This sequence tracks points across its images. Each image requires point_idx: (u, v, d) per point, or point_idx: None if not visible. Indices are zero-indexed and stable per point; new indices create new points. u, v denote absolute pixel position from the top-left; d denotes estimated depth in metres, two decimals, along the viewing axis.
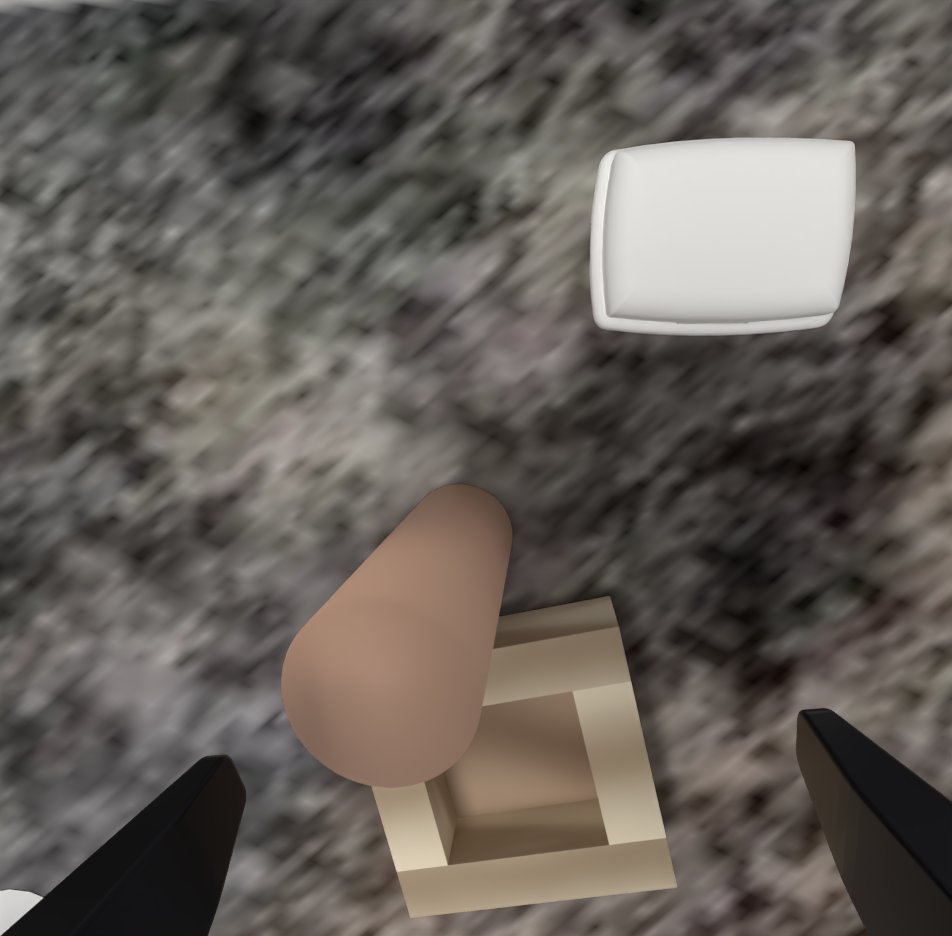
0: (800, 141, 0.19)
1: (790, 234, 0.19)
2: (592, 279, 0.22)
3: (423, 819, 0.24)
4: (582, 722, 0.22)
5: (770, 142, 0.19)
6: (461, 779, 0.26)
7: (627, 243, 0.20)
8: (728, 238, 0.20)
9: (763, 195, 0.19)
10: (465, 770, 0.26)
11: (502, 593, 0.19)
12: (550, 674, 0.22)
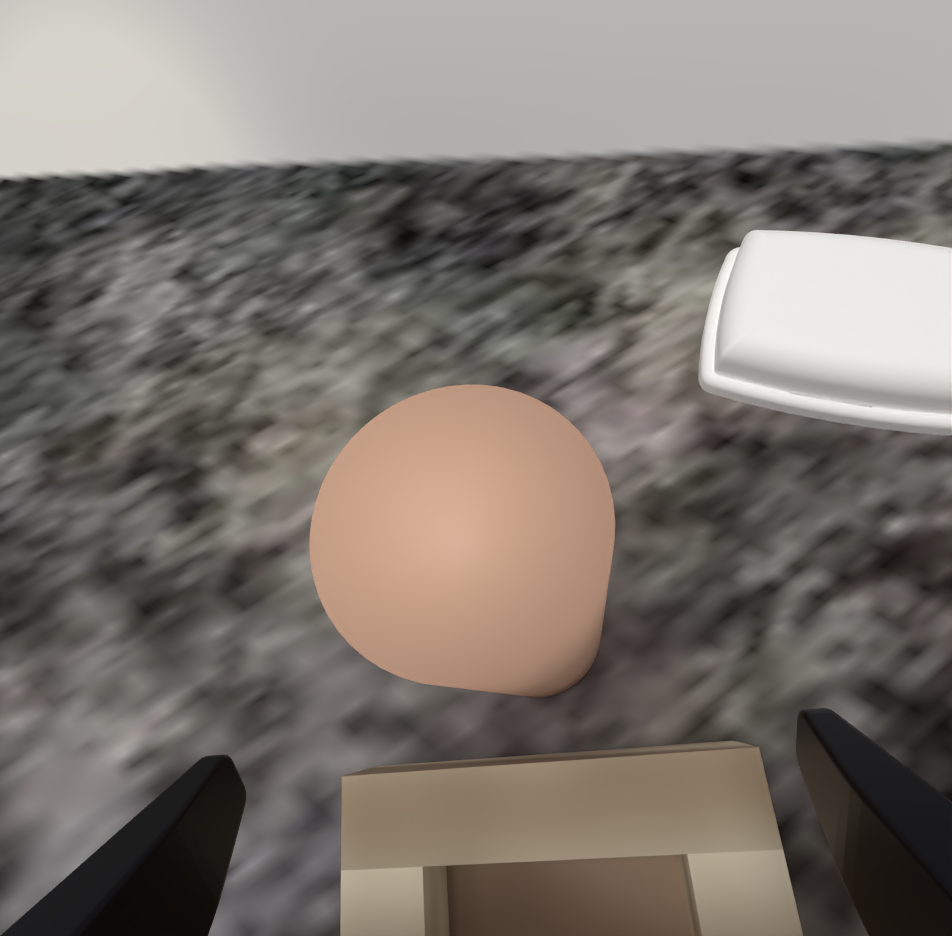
0: (931, 245, 0.20)
1: (924, 310, 0.19)
2: (704, 340, 0.22)
3: None
4: (703, 920, 0.14)
5: None
6: None
7: (748, 292, 0.20)
8: (855, 302, 0.19)
9: (894, 274, 0.19)
10: None
11: None
12: (653, 817, 0.15)
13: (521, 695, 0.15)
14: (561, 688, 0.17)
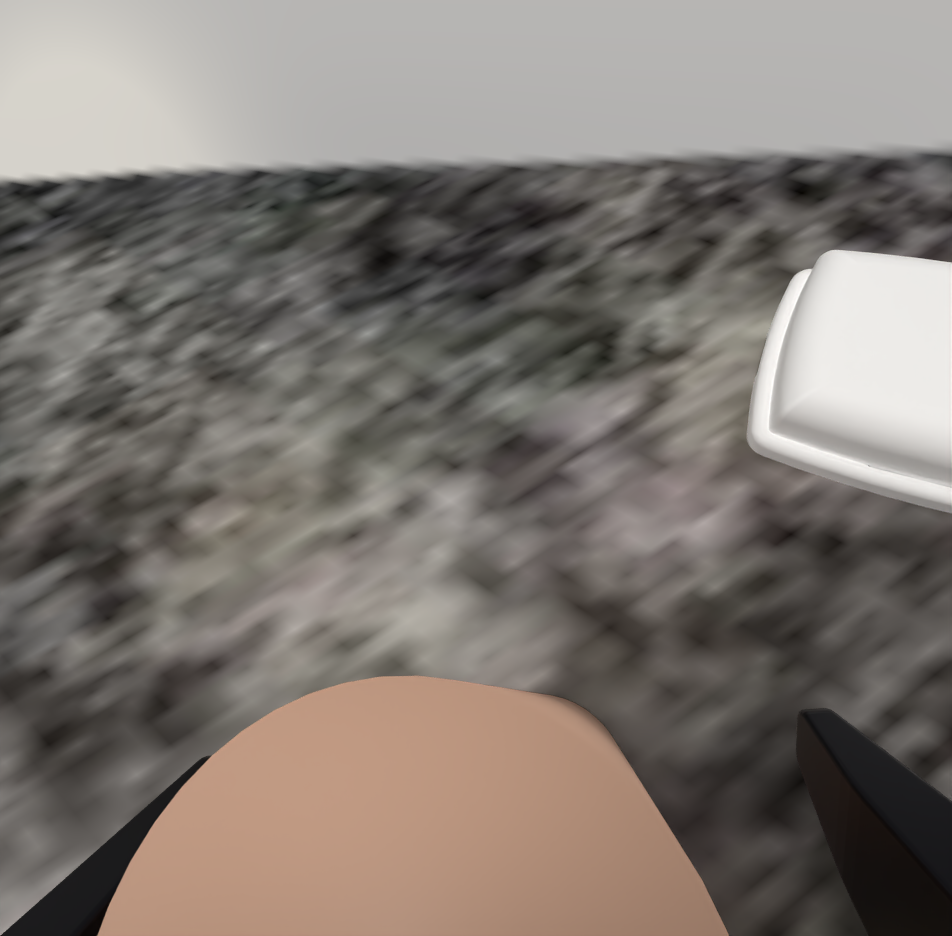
0: None
1: None
2: (758, 386, 0.17)
3: None
4: None
5: None
6: None
7: (824, 332, 0.16)
8: None
9: None
10: None
11: None
12: None
13: None
14: None
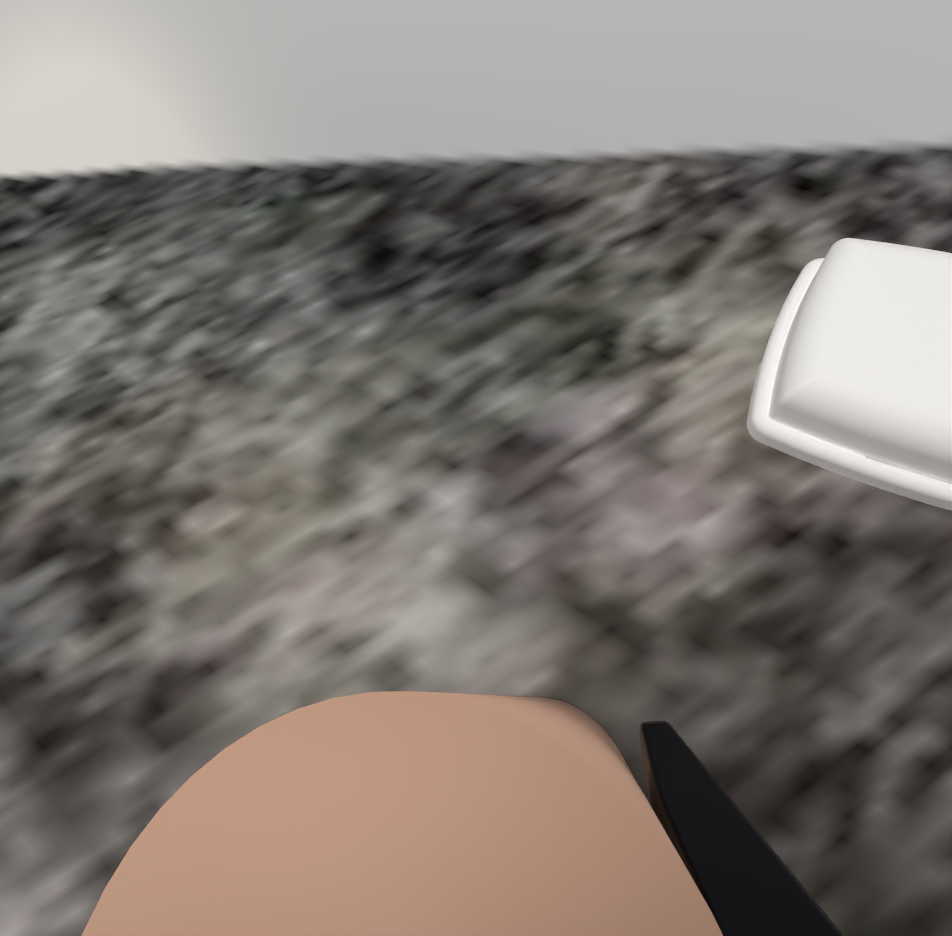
0: None
1: None
2: (761, 373, 0.17)
3: None
4: None
5: None
6: None
7: (830, 320, 0.15)
8: None
9: None
10: None
11: None
12: None
13: None
14: None
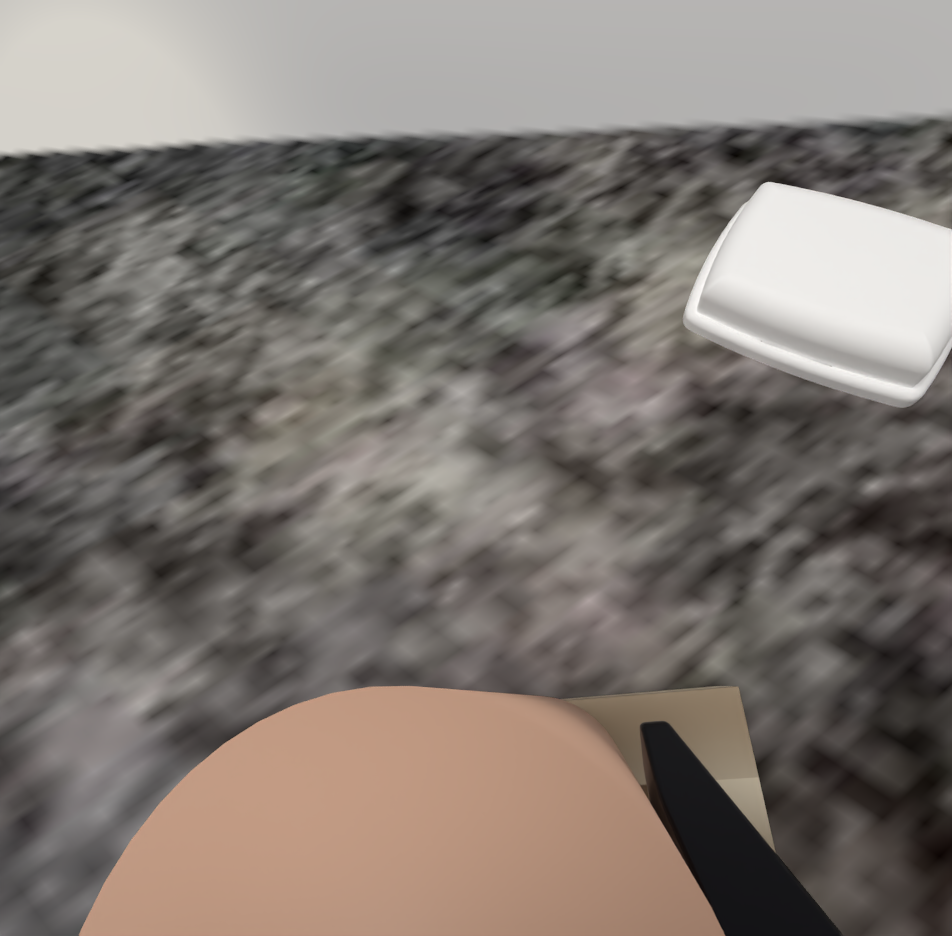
0: None
1: (900, 280, 0.20)
2: (696, 280, 0.23)
3: None
4: None
5: None
6: None
7: (742, 237, 0.21)
8: (838, 262, 0.20)
9: (883, 243, 0.20)
10: None
11: None
12: (640, 750, 0.16)
13: None
14: None
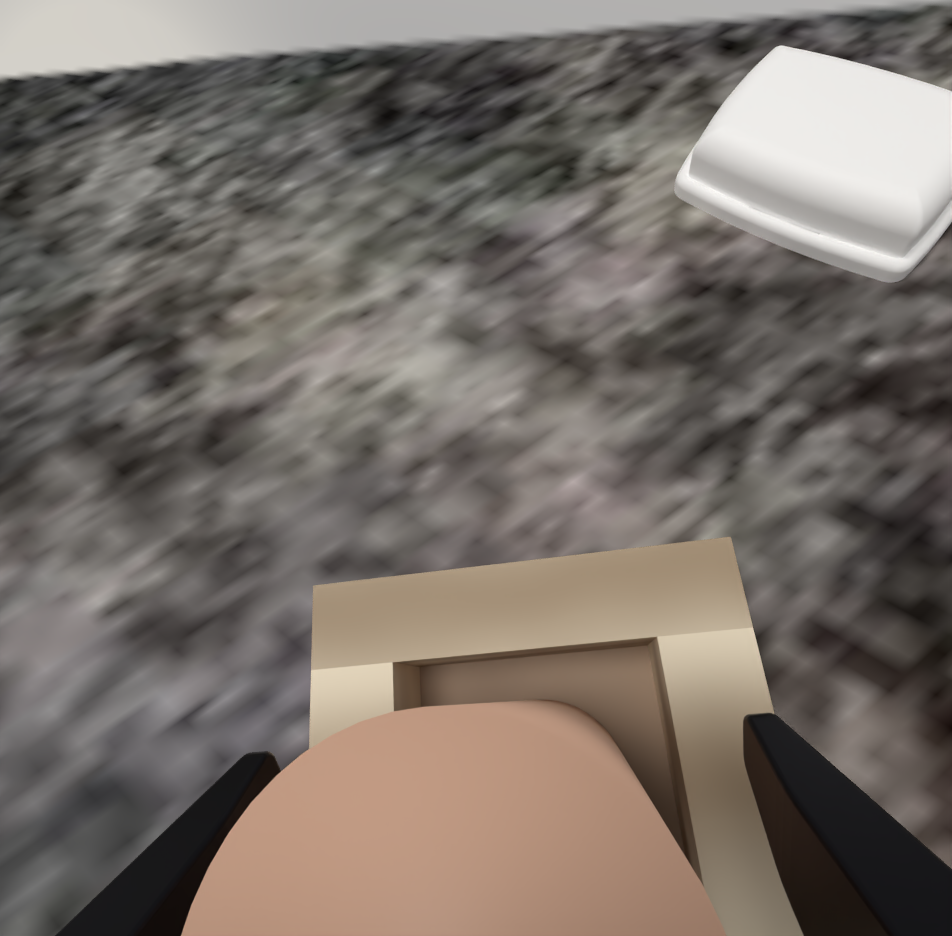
0: (943, 89, 0.19)
1: (899, 138, 0.19)
2: (693, 148, 0.22)
3: None
4: (672, 696, 0.14)
5: (914, 79, 0.20)
6: None
7: (741, 94, 0.21)
8: (837, 119, 0.19)
9: (887, 103, 0.19)
10: None
11: None
12: (623, 605, 0.15)
13: None
14: None
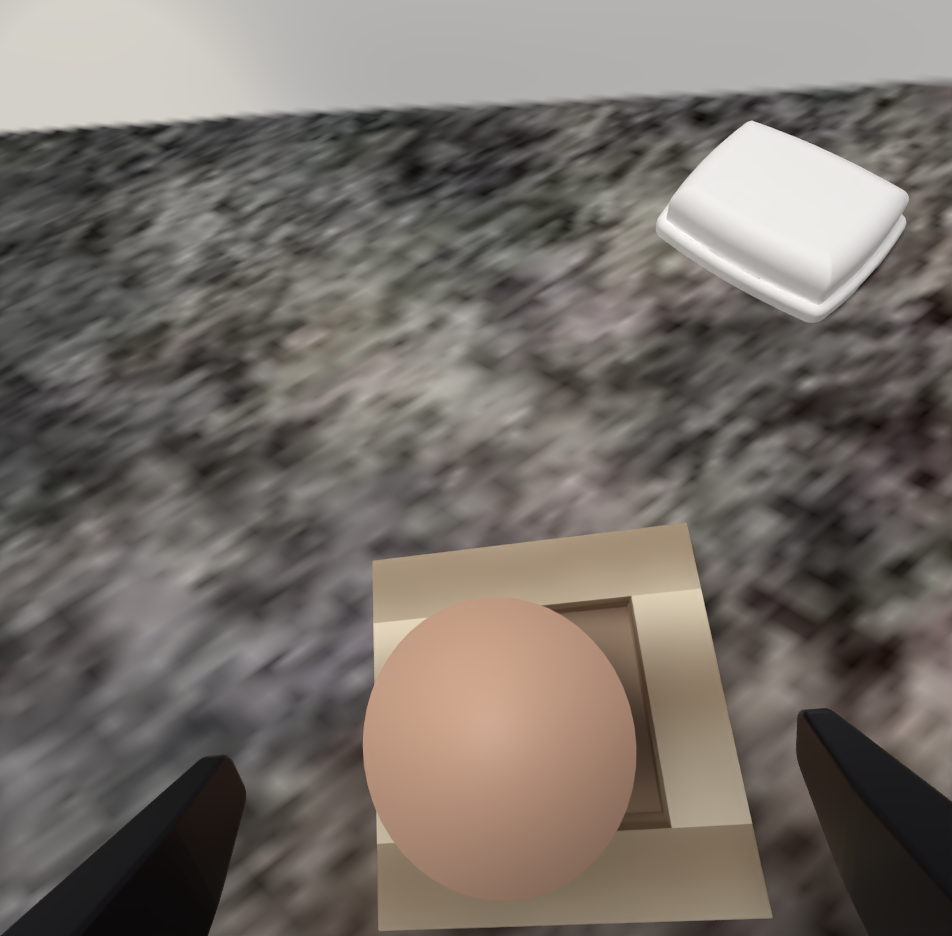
0: (870, 172, 0.24)
1: (825, 210, 0.24)
2: None
3: None
4: (641, 637, 0.19)
5: None
6: None
7: (712, 160, 0.26)
8: (781, 189, 0.24)
9: (823, 180, 0.24)
10: None
11: None
12: (607, 573, 0.20)
13: None
14: None
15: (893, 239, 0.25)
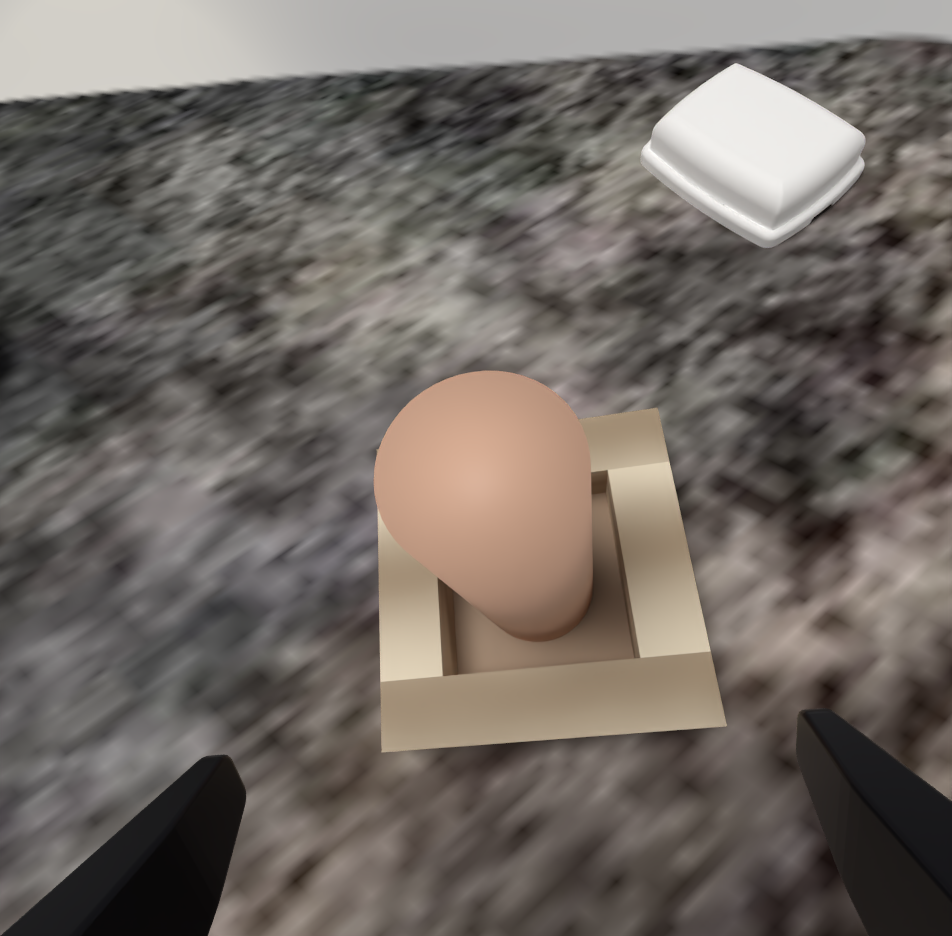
0: (834, 114, 0.27)
1: (785, 143, 0.26)
2: None
3: (426, 612, 0.21)
4: (616, 504, 0.21)
5: None
6: (472, 627, 0.23)
7: (694, 94, 0.28)
8: (750, 123, 0.27)
9: (789, 117, 0.27)
10: (478, 615, 0.23)
11: (591, 559, 0.17)
12: None
13: (525, 628, 0.19)
14: (558, 627, 0.20)
15: (849, 179, 0.27)
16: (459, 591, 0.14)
